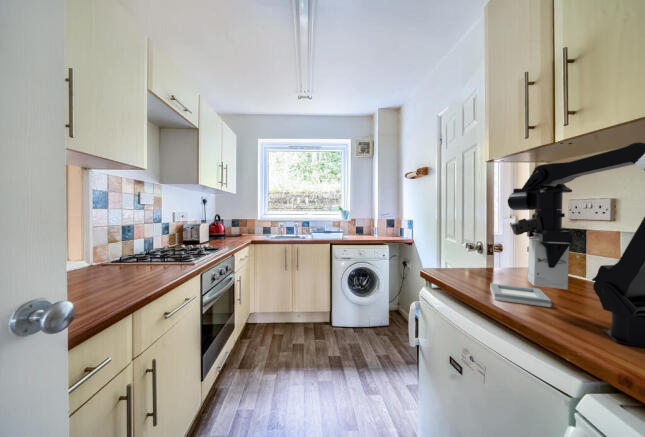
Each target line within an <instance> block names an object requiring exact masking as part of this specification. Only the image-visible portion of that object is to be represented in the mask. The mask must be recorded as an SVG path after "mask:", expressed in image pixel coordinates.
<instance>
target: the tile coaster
mask: <svg viewBox="0 0 645 437" xmlns="http://www.w3.org/2000/svg"><path fill="white" fill-rule="evenodd" d="M489 284H490V285H489V286H490V287H489V289H490V292H491V295H492V297H493V299H494V301H502V302H509V303H514V304H515V303H518V304H522V305H523V304H525V305H531V306H537V307H538V306H539V307H544V308H545V307H546V308H552V299H550V298H549V296H547V295H546V294H545V293H544V292H543V291H542V290H541V289H540V288H538V287H537V288H535V287H527V286H519V285H510V284H509V285H508V284H500V283H493V282H491V283H489Z"/></svg>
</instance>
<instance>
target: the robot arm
mask: <svg viewBox="0 0 645 437" xmlns="http://www.w3.org/2000/svg"><path fill="white" fill-rule="evenodd" d="M632 165H636V166H637V167H638V168H640V169H641V170H643V171H645V142H634V143H630V144H629V145H625V146H623V147H619V148H616V149H612V150H609V151H605V152H601V153H597V154H594V155H590V156H586V157H582V158H579V159H576V160H571V161H566V162H565V161H564V162H552V163H543V164H539V165H537V166H536V167H534V169H533V170H532V173H531V175H530V176H529V178H528V179H527V181H526V182H525V183H524V185H523V186H522V188H514V189H513V192H512V193H510V195H509V196H508V198H507V205H508V207H509V209H510V210H512V211H534V210H535V213H533V214H532V215H531V218H529V219H526V218H522V219H518V220H517V221H516V222H514V223H510V224H509V226H510V228H511V230H512V232H513V234H514V235H515V236H519V235H523V234H525V233H526V237H527V238H528V240H529V239H540V241H542V242H539V243H540V244H541V245H542V246H544V247H545V250H546V256H547V261H548V266H549V268H554V267H555V266H556V264H557V263H558V261H559V260H560V258H561V257H562V255H563V254H564V252H565V251H566V250H567V248H568V247H569V248H570V246H571V244H575V239H576V238H575V236H576V235H575V234H574V233H573V232H571V231H570V230H569V231H567V230H565V228H563V218H565V217H566V213H563V194H565V193H566V194H568V193H573V190H572V189H571V188H570V187H569V186H566V183H570V182H572V181H574V180H576V178H579V177H583V176H587V175H591V174H596V173H601V172H605V171H610V170H614V169H619V168H623V167H624V168H625V167H628V166H632ZM591 281H592V282H594V283H593V285H592V288H593V291H594V292H595V295H596V296H597V297H598V299H599V301H600V303H601V307H602V309H603V310H604V311H606V312H609V313H611V321H610V323H611V324H610V329H606V328H605V329H603V332H604V333H605V335H607V336H608V337H609V338H611V339H612V340H613V341H614V342H616V343H618V344H623V345H629V346H634V347H640V348H645V216H644V217H643V219H642V220H641V222H640V224H639V226H638V227H637V229H636V230H635V232H634V234H633V236H632V238H631V239H630V241H629V242H628V244H627V246H626V248H625V250H624V251H623V253H622V255H621V257H620V258H619V260H617V262H616V263H614V264H607V265H606V264H605V265H603V264H602V265H600V267H599V268H598V270H597V274H596V275H595V277H593V278H592V279H591Z"/></svg>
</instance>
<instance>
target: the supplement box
mask: <svg viewBox="0 0 645 437" xmlns="http://www.w3.org/2000/svg"><path fill="white" fill-rule="evenodd" d="M539 242H542V241H540V239H529V238H528V262H527V264H528V267H527V281H528V282H529V283H530V284H531V285H532V286H533V287H543V288H553V289H561V290H568V288H569V263H570V262H569V260H570V246H569V247H568V248H567V250H566V251H565V252H564V254H563V255H562V257H561V258H560V260H559V261H558V263H557V264H556V266H555V267H554V268H549V266H548V261H547V256H546V250H545V247H544V246H542V245H541V244H540V243H539Z"/></svg>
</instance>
